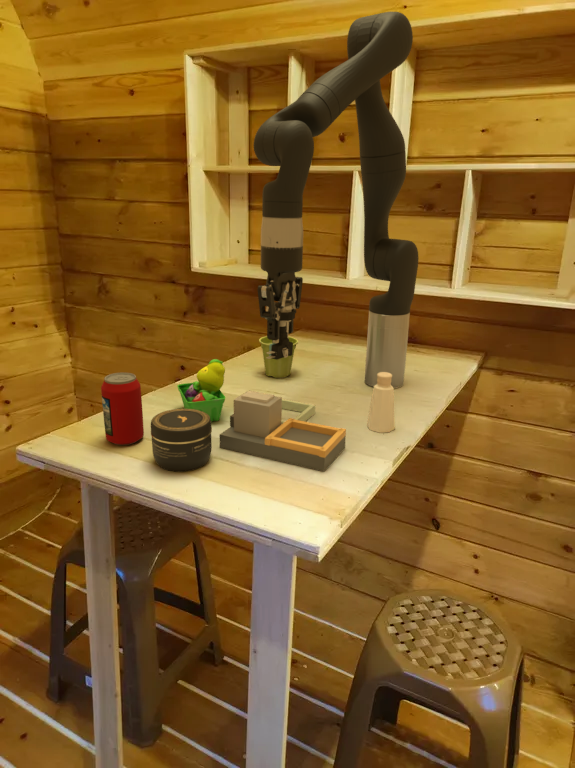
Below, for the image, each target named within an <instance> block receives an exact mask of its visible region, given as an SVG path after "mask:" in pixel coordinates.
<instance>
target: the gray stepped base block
mask: <svg viewBox="0 0 575 768" xmlns="http://www.w3.org/2000/svg"><path fill="white" fill-rule="evenodd" d="M282 399H283V398H282V397H281V396H275V394H270V393H264V392H259V391H255V390H249V391H248V390H246V391H245V392H244V393H242V394H240V395H238V396H237V397H235V398H233V413H232V414H231V415H229V427H228V428H227V429H226V430H224V431H223V432H221V433H220V434H219V448H221V449H225V450H229V451H232V452H233V451H234V452H238V453H242V454H247V455H252V456H255V457H260V458H264V459H269V460H273V461H277V462H280V463H281V462H282V463H286V464H290V465H295V466H299V467H303V468H307V469H312V470H315V471H321V472H325V471H326V470H327V469H328V468H329V467H331V466H330V465H332V464H333V462H334V461H335V460H336V459H337V458H338V457H339V456H340V455H341V453H342V452H343V451H344V450H345V448H346V438H347V437H346V435H347V428H343V427H340V428H339V427H335V426H329V425H325V424H324V425H323V424H320V423H314V422H310V421H299V420H295V419H294V418H293V417H290V418H288V419H287V420H285V421H283V422H284V423H282V422H281V421H282V417H283V416H282V411H283V409H282Z"/></svg>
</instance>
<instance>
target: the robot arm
mask: <svg viewBox="0 0 575 768" xmlns="http://www.w3.org/2000/svg"><path fill="white" fill-rule="evenodd" d="M412 29H413V28H412V24H411V22H410V20H409V19H408V17H407V16H406V15H405V14H403V13H402V12H399V11H385V12H381V13H380V12H379V13H377V14H376V13H375V14H372V15H367V16H362V17H359V18H356V19H355V20H354V21H353V22H352V23H351V25H350V26H349V30H348V33H347V40H346V43H347V44H346V45H347V47H346V49H347V50H346V52H347V60H346V61H344V62H342V63H340V64H338V65H337V66H335V67H334V68H332V69H330V70H329V71H327V72H325V73H324V74H322V75H321V76H320V77H318V78H317V79H316V80H315V81H314V82H313V83H312V84H311V85H310V86H309V87H308V88H306V90H305V91H303V92H302V93H301V95H300V96H298V98H297V99H296V100H295V101H294V102H292V103H290V104H289V105H287V106H285V107H284V108H282V109H280V110H279V111H278V112H276V113H274V114H273V115H272V116H270V117H268V119H266V120H265V121H264V122H263V123H262V124H261V125H260V126H259V128H258V129H257V131H256V133H255V136H254V139H253V152H254V155H255V157H256V158H257V160H258V161H259V162H261V163H262V164H264V165H266V166H268V167H269V166H271V167H279V170H278V173H277V177H276V178H275V179H274V180H271V181H269V182H267V183H266V184H264V186H263V188H262V209H261V210H262V219H261V226H260V227H261V228H260V269H261V270H262V271H263V272H266V273H267V278H266V280H265V281H266V282H265V284H264V285H260V284H259V285H258V286H257V297H258V298H257V299H258V308H259V314H260V315H259V317H260V318H264V319H265V320H266V321H267V322H266V328H267V329H266V336H267V338H268V339H269V340H278V339H279V337H280V320H279V319H280V314H281V309H282V308H284V306H285V303H289V304H292V308H293V309H296V310H297V309H299V308H300V307H301V299H302V290H303V280H304V278H303V276H302V277H300V276H296V273H298V272H300V271H302V269H303V258H304V257H303V256H304V255H303V254H304V252H303V251H304V226H303V225H304V223H303V205H304V203H303V200H304V199H303V198H304V196H303V195H304V190H305V187H306V184H307V180H308V176H309V173H310V169H311V166H312V162H313V157H314V152H315V142H314V141H315V140H314V138H316V137H318V136H320V135H321V134H323V133H324V132H325V131H326V130H327V129H328V128H330V126H331V125H332V124H333V123H334V122H335V121H336V119H338V117H339V116H340V115H342V113H343V112H345V110H346V109H347V108H348V107H349V106H350V105H351V104H352V103H353V102H354V103H355V111H356V119H357V120H356V121H357V128H358V129H357V131H358V132H357V133H358V142H359V143H358V145H359V161H360V174H361V183H362V193H363V195H362V196H363V215H364V216H363V217H364V221H363V222H364V223H363V224H364V225H363V226H364V229H363V230H364V231H363V260H364V261H363V262H364V268H365V272H366V273H367V275H368V276H369V277H370V278H372V279H374V280H379V281H385V282H389V284H388V285H389V286H388V290H387V291H386V292H385V293H383V294H379V295H375V296H372V297H371V298H370V300H369V304H368V305H369V306H368V321H367V322H368V323H367V336H366V337H367V339H366V350H365V351H366V353H365V367H364V369H365V370H364V383H365V384H366V385H368V386H369V387H370V386H371V387H373V388H374V386H375V385H377V378H378V377H377V374H378V373H380V372H388V373H390V374H392V378H391V386H392V387H393V388H394V389H399V388H401V387H403V386H404V384H405V373H406V363H407V362H406V361H407V351H408V350H407V349H408V341H409V340H408V339H409V328H410V315H411V305H412V303H413V301H414V296H415V290H416V282H417V275H418V270H419V269H418V268H419V260H420V259H419V249H418V247H417V245H416V243H414V241H411V240H409V239H408V240H407V239H398V238H390V236H389V218H390V217H389V216H390V213H391V210H392V207H393V205H394V203H395V201H396V199H397V197H398V195H399V194H400V191H401V190H402V187H403V185H404V182H405V180H406V176H407V175H406V174H407V158H406V142H405V139H404V134H402V131H401V129H400V127H399V125H398V124H397V121H396V120H395V118H394V117H393V114H392V113H391V112H390V109H389V108H388V106H387V105H386V102H385V100H384V97H383V96H384V95H383V92H382V86H381V80H382V78H384V77H385V76H387V75H388V74H390V73H391V72H392V71H394V70H396V69H398V68H399V66H401V65H402V64H404V62H405V61H406V60H407V58H408V57H409V55H410V53H411V51H412V48H413V47H412V46H413V41H414V40H413V38H414V35H413V30H412ZM275 307H276V312H275ZM292 333H294V319H293V320H291V321H290V322H289V331H288V335H290V334H292Z"/></svg>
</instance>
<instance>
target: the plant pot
mask: <svg viewBox="0 0 575 768" xmlns="http://www.w3.org/2000/svg"><path fill="white" fill-rule="evenodd" d="M288 338H289V341H290V342H293V353H292V356H288V357H286V358H285V357H283V358H281V359H278V360H276V359H272V358H270V359H268V358H266V357H269V354H267V352H269V345H270V344H273V343H272V340H269V339H268V338H267V335H266V336H262V337H260V338H259V339H258V342H259V344H260V348H261V350H262V355H263V356H262V357H263V362H264V363H263V364H264V371H265V375H266V376H267V377H273V378H276V379H278V378H279V379H280V378H281V379H282V378H287V377H288V376H290V375H291V372H292V366H293V361H294V353H295V350H296V347H297V345H298V344H299V340H298V338H295V337H293V336H289V335H288Z"/></svg>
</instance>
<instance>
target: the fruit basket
mask: <svg viewBox="0 0 575 768" xmlns="http://www.w3.org/2000/svg"><path fill="white" fill-rule="evenodd" d="M223 364H224V362H223V361H222V360H220V359H217V358H214V359H211V360H210V361H209V362H208V365H206V366H204V367H203V368H201V369H199V370H198V372H196V373H197V374H196V378H197V380H196V381H193V382H186V383H181V384H180V383H179V384H178V385H177V386H176V387H177V389H178V392H179V393H180V398H181V400H182V404H183V407H184V408H183V409H195V410H200V411H203V412H205V413H206V414H208V415H209V417H210V419H211V423H213V422H218V421H219V420H220V418H221V414H222V410H223V406H224V403H225V400H226V395H224V393H223V392H222V391H221V389H222V387H223V386H224V383H225V379H224V378H225V376H224V375H225V373H226V368H225V367H224V365H223Z"/></svg>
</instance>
